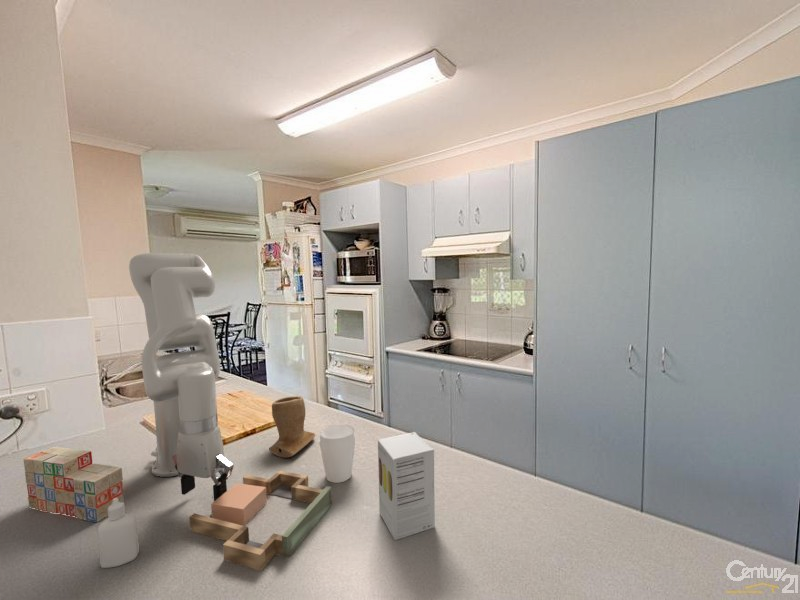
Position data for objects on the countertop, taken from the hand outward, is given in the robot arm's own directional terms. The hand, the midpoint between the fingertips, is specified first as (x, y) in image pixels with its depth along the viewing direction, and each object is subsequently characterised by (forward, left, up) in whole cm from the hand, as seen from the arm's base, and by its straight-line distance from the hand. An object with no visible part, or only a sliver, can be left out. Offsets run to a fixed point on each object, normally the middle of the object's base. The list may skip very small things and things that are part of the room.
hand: (204, 494), depth 84 cm
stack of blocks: (-28, -10, -2) cm, 30 cm away
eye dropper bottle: (-1, -18, -2) cm, 18 cm away
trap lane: (+17, 0, -2) cm, 17 cm away
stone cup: (+3, +29, -2) cm, 29 cm away
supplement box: (+47, +8, -2) cm, 48 cm away
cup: (+25, +19, -2) cm, 31 cm away
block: (+10, 0, -2) cm, 10 cm away
